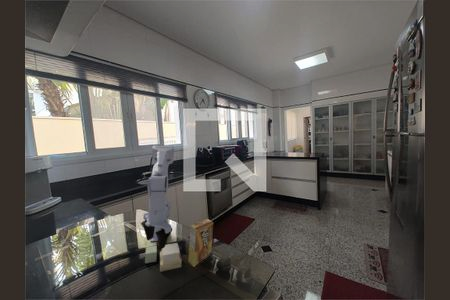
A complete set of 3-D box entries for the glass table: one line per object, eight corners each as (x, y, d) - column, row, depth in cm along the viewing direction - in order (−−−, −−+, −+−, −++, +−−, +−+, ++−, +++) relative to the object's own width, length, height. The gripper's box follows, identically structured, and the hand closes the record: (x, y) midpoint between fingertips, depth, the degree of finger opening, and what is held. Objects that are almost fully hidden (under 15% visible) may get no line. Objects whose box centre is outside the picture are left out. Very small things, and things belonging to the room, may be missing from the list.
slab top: (161, 252, 68) (162, 245, 68) (177, 249, 71) (177, 242, 71) (162, 263, 63) (162, 255, 63) (179, 259, 65) (179, 252, 65)
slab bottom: (159, 258, 69) (159, 251, 69) (178, 254, 72) (178, 248, 72) (160, 272, 62) (160, 265, 62) (181, 268, 65) (181, 260, 65)
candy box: (204, 251, 74) (207, 218, 73) (211, 257, 72) (213, 222, 70) (187, 261, 68) (189, 225, 67) (194, 268, 65) (196, 229, 64)
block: (145, 256, 69) (145, 247, 69) (156, 254, 71) (156, 245, 70) (145, 263, 66) (145, 253, 65) (156, 261, 67) (156, 251, 67)
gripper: (135, 205, 63) (134, 240, 64) (159, 219, 55) (157, 258, 56) (153, 200, 69) (152, 232, 70) (177, 211, 60) (175, 247, 62)
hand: (155, 243), depth 63 cm, fingers open, 7 cm apart
